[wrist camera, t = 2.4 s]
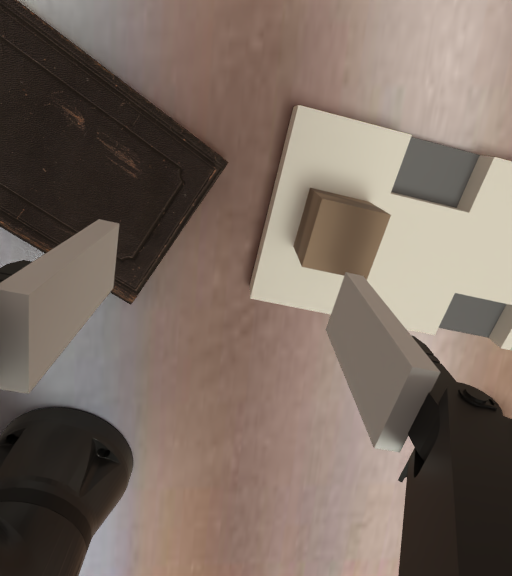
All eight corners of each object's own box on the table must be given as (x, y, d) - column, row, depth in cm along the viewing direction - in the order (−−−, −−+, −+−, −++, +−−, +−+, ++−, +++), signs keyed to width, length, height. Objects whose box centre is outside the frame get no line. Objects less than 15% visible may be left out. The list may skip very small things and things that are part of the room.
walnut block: (293, 246, 32) (301, 266, 27) (310, 187, 30) (322, 198, 25) (349, 258, 32) (366, 280, 28) (368, 201, 31) (391, 214, 26)
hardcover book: (-40, -46, 26) (-64, -61, 24) (229, 160, 32) (228, 162, 30) (-111, 148, 31) (-136, 150, 29) (135, 297, 37) (128, 307, 35)
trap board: (249, 285, 36) (250, 305, 32) (293, 106, 30) (301, 103, 26) (541, 344, 40) (576, 369, 36) (632, 196, 34) (686, 205, 30)
